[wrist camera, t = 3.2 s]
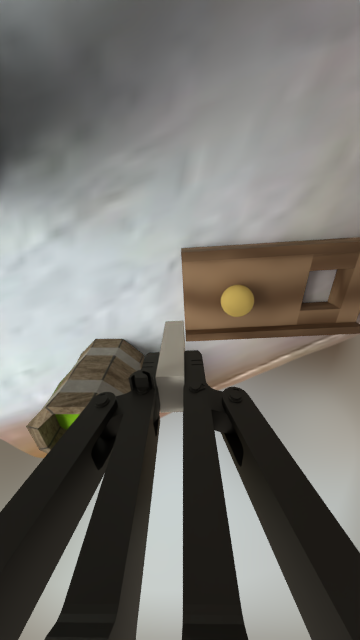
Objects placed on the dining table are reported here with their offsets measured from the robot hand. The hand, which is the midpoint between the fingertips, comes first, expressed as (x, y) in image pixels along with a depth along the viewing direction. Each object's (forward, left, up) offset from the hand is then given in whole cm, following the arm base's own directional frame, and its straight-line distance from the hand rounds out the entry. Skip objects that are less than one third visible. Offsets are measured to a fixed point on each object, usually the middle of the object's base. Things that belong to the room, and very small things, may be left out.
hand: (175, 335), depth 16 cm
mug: (+14, -12, -11) cm, 21 cm away
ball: (0, +7, -6) cm, 9 cm away
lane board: (0, +12, -10) cm, 16 cm away
